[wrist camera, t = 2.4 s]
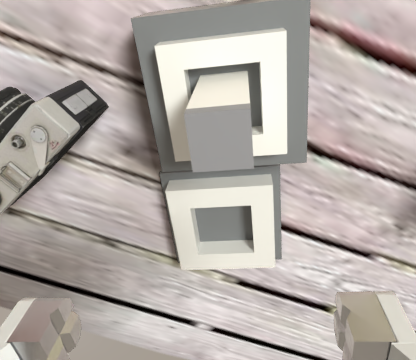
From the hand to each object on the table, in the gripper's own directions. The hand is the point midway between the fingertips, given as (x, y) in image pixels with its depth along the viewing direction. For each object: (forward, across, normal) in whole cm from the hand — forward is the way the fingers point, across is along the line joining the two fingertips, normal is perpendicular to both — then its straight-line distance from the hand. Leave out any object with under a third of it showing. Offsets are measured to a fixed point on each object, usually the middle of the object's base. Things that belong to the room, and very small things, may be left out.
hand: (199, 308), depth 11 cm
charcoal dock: (+29, 0, 0) cm, 29 cm away
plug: (+23, 0, 0) cm, 23 cm away
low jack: (+29, +2, +17) cm, 33 cm away
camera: (+29, +21, +2) cm, 36 cm away
